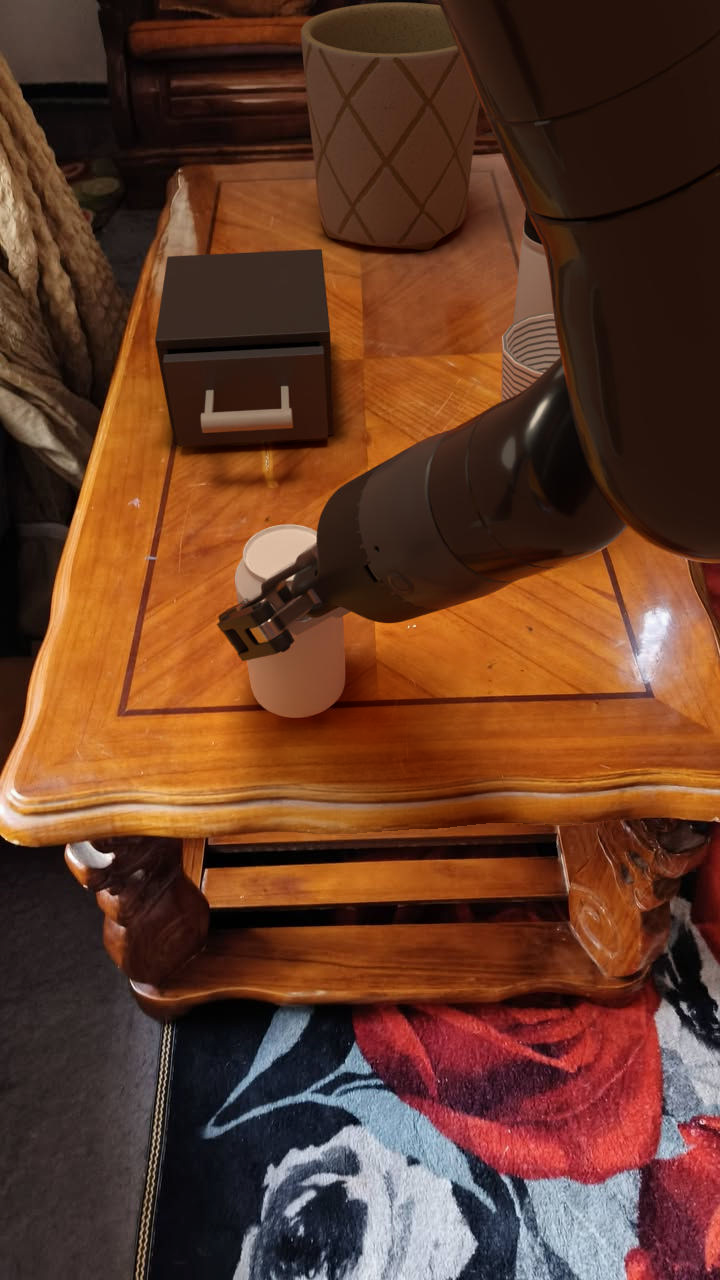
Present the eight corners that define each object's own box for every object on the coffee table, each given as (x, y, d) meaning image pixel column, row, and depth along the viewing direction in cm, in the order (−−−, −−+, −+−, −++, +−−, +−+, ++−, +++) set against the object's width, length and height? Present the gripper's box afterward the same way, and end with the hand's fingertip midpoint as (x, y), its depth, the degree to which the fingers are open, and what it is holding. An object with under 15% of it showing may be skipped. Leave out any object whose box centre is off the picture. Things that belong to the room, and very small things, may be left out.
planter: (450, 269, 104) (461, 62, 89) (287, 247, 108) (272, 46, 94) (490, 200, 116) (506, 8, 102) (342, 182, 120) (337, -4, 106)
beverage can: (339, 730, 60) (332, 592, 52) (243, 721, 61) (220, 584, 52) (351, 658, 65) (347, 519, 56) (261, 651, 65) (243, 513, 57)
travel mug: (583, 441, 81) (627, 202, 67) (506, 442, 82) (532, 203, 67) (573, 401, 86) (612, 168, 71) (499, 401, 86) (523, 169, 71)
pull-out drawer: (331, 473, 77) (327, 387, 72) (175, 482, 77) (158, 396, 71) (321, 354, 90) (316, 273, 84) (187, 361, 90) (173, 281, 84)
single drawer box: (334, 435, 83) (330, 331, 76) (174, 444, 82) (154, 340, 75) (326, 347, 93) (321, 248, 86) (183, 355, 92) (167, 256, 85)
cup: (575, 486, 77) (608, 306, 66) (609, 556, 71) (651, 370, 60) (472, 497, 76) (488, 316, 65) (498, 568, 71) (520, 383, 59)
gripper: (480, 392, 47) (316, 490, 61) (277, 539, 40) (144, 611, 54) (557, 519, 49) (380, 586, 63) (375, 683, 41) (220, 717, 55)
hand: (271, 597), depth 58 cm, fingers closed on beverage can, 6 cm apart
